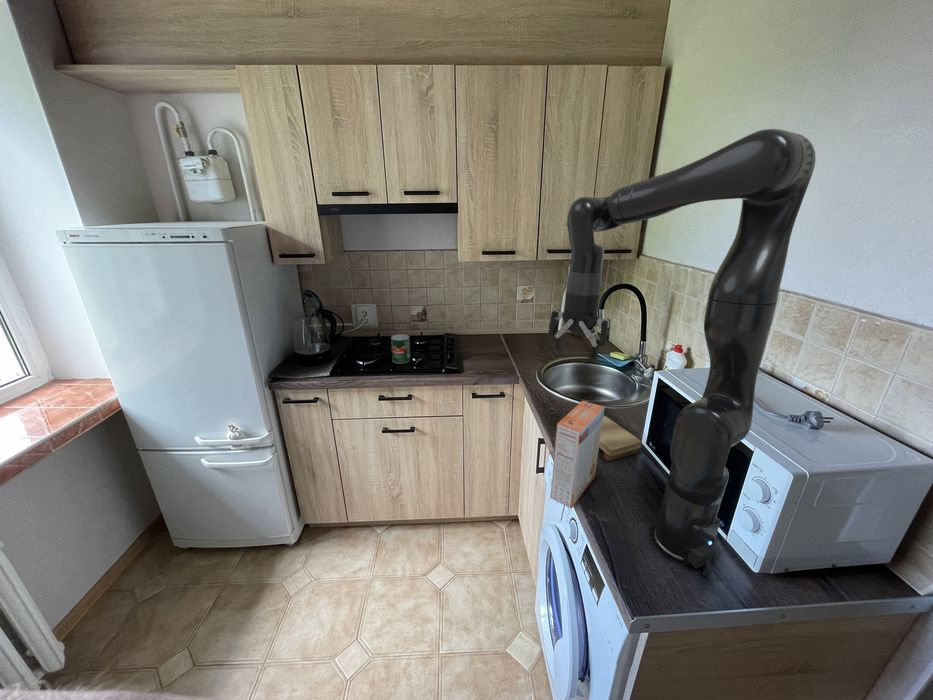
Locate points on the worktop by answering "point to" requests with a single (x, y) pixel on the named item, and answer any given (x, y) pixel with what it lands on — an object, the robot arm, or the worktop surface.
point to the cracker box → (576, 452)
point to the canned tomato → (400, 348)
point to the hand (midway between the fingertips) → (575, 355)
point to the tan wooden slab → (617, 441)
